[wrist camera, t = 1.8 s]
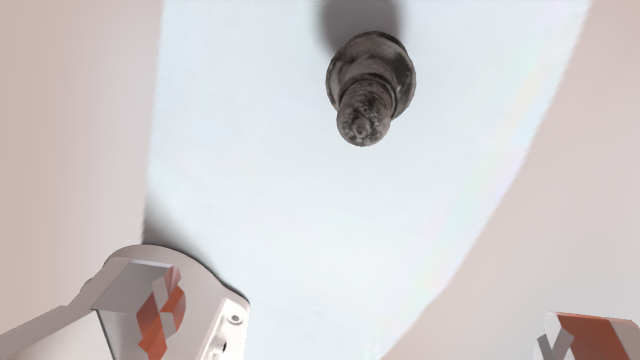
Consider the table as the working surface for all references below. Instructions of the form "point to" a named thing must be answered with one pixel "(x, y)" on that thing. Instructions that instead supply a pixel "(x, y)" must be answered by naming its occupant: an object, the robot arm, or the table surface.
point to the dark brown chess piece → (369, 86)
